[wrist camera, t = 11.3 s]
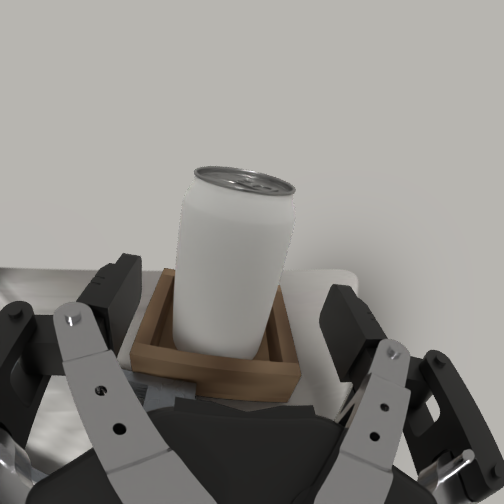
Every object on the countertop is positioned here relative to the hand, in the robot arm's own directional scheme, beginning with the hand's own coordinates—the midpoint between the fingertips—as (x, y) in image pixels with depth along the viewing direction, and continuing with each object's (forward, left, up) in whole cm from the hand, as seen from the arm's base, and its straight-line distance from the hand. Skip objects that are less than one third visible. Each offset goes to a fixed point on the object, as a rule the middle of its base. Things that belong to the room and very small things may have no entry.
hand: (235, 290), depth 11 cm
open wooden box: (0, +6, -9) cm, 11 cm away
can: (0, +6, -9) cm, 10 cm away
